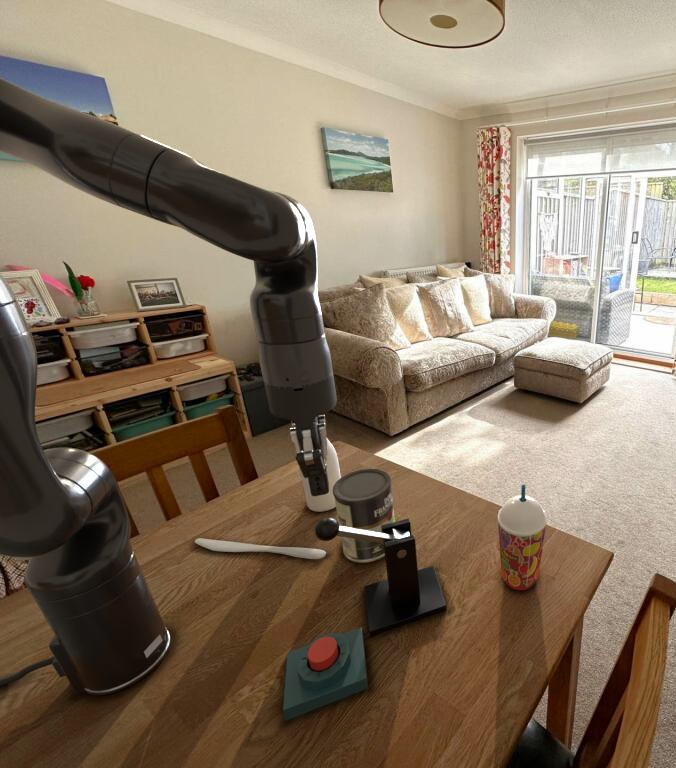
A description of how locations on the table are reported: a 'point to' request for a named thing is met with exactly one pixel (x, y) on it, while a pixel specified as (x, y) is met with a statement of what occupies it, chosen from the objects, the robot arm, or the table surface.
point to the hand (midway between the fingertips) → (320, 491)
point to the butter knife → (260, 548)
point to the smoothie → (521, 540)
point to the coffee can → (364, 510)
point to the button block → (324, 675)
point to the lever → (353, 532)
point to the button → (323, 653)
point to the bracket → (402, 586)
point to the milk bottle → (334, 475)
